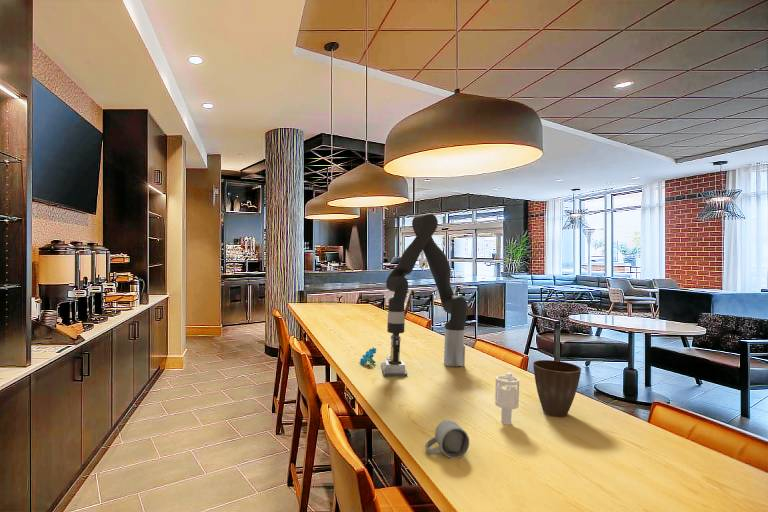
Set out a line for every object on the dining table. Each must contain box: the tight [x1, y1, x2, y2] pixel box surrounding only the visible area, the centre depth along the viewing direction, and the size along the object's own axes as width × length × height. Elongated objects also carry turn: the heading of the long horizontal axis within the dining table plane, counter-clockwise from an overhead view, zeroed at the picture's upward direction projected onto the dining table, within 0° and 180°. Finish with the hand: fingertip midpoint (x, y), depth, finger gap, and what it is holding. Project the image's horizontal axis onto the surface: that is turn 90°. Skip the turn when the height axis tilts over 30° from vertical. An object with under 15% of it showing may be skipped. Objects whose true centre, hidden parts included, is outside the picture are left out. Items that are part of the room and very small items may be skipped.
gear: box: [359, 347, 377, 367], centre depth 196 cm, size 11×6×10 cm
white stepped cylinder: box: [494, 371, 520, 426], centre depth 130 cm, size 7×7×15 cm
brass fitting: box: [390, 346, 401, 364], centre depth 181 cm, size 4×4×8 cm
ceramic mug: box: [424, 419, 470, 459], centre depth 109 cm, size 11×8×8 cm
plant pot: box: [532, 359, 582, 418], centre depth 139 cm, size 15×15×16 cm
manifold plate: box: [380, 355, 408, 377], centre depth 186 cm, size 10×18×5 cm, turn 4°
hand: (395, 360), depth 181 cm, fingers closed on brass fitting, 4 cm apart
